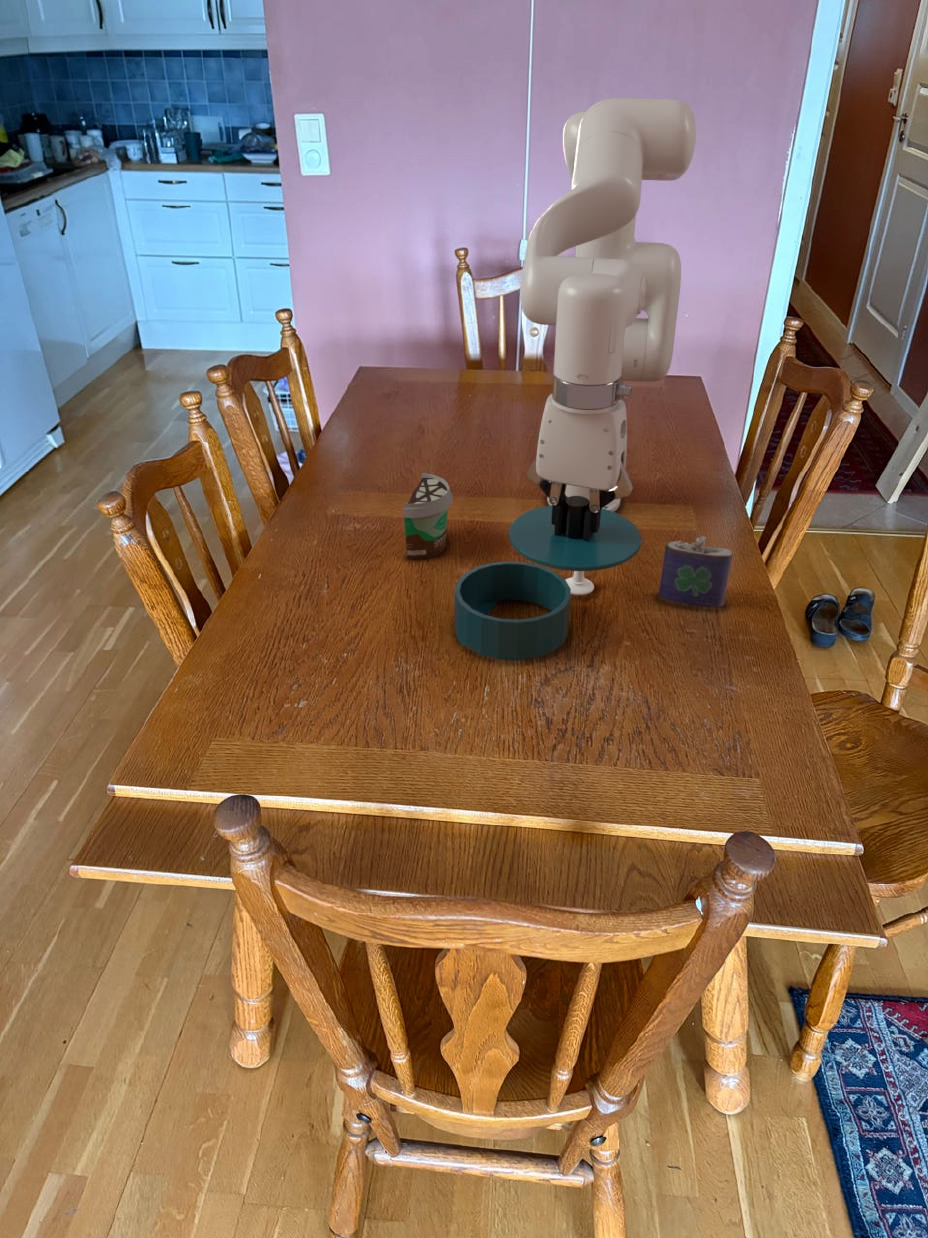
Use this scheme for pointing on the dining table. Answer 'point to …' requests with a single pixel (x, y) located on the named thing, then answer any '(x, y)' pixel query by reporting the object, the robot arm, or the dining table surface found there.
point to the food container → (427, 517)
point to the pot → (510, 635)
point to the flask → (695, 574)
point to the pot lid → (574, 538)
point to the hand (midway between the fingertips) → (574, 531)
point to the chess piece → (580, 584)
